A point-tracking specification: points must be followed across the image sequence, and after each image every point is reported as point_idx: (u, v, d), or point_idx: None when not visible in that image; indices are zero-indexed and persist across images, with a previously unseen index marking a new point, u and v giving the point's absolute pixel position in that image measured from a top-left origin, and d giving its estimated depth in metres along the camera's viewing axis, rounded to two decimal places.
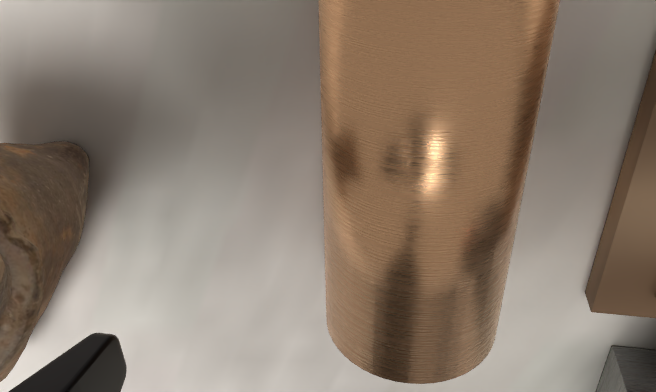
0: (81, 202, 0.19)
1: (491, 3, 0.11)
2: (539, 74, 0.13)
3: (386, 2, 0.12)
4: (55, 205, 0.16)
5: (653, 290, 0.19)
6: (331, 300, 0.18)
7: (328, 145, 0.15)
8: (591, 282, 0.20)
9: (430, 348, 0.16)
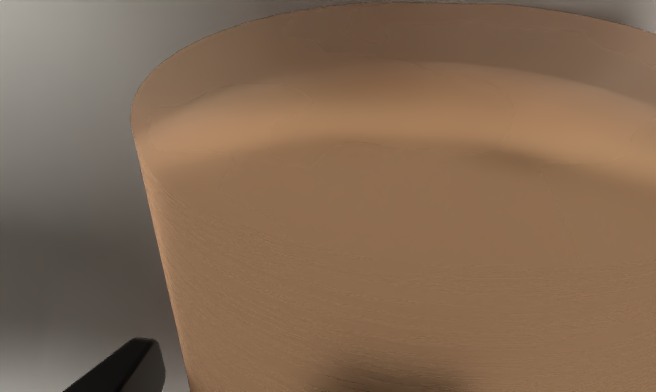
0: None
1: (612, 381, 0.04)
2: None
3: (295, 365, 0.04)
4: None
5: None
6: None
7: None
8: None
9: None
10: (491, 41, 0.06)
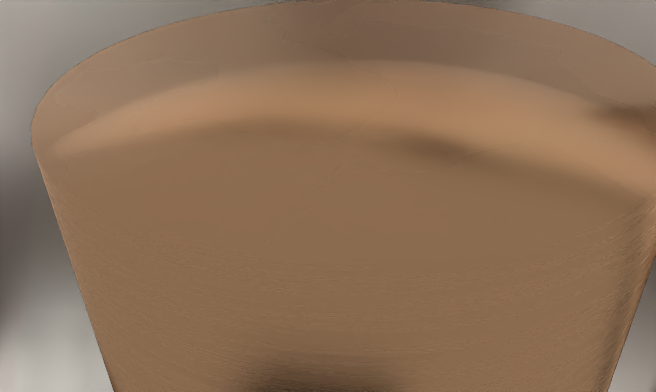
0: None
1: None
2: None
3: (94, 304, 0.04)
4: None
5: None
6: None
7: None
8: None
9: None
10: (450, 47, 0.06)
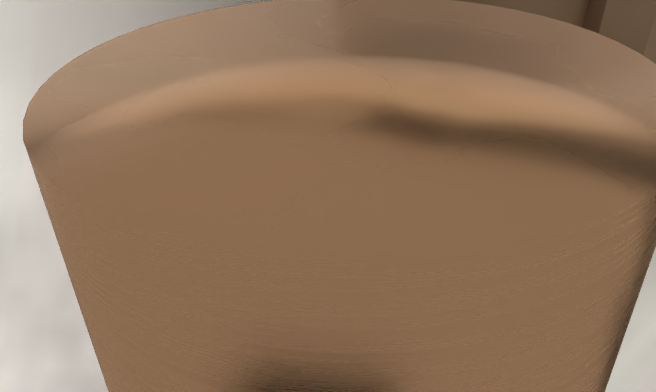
0: None
1: (337, 390, 0.04)
2: None
3: (87, 302, 0.04)
4: None
5: None
6: None
7: None
8: None
9: None
10: (447, 43, 0.06)
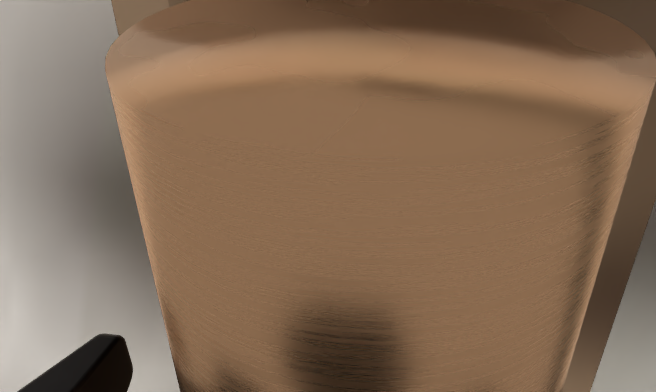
0: None
1: (376, 271, 0.05)
2: (539, 375, 0.06)
3: (164, 217, 0.05)
4: None
5: None
6: None
7: None
8: None
9: None
10: (453, 13, 0.07)
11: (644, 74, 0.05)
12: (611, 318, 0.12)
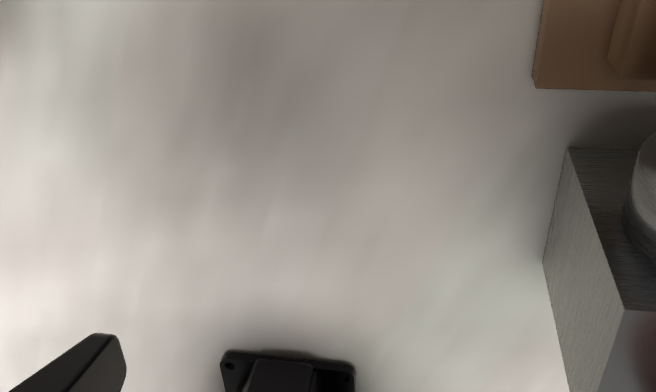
0: None
1: None
2: None
3: None
4: None
5: (605, 50, 0.17)
6: None
7: None
8: (536, 56, 0.18)
9: None
10: None
11: None
12: None
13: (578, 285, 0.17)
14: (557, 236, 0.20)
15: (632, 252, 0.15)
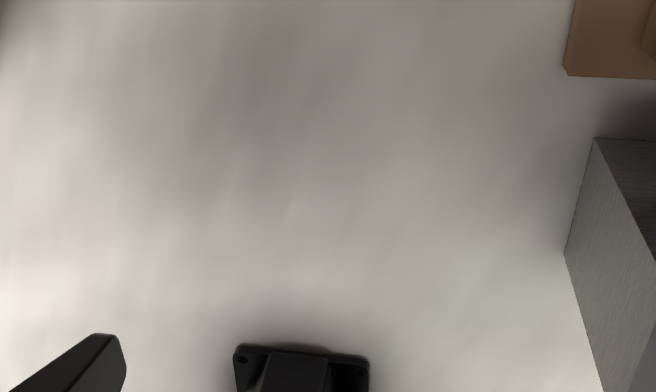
0: None
1: None
2: None
3: None
4: None
5: (639, 38, 0.17)
6: None
7: None
8: (569, 44, 0.18)
9: None
10: None
11: None
12: None
13: (609, 272, 0.17)
14: (582, 227, 0.20)
15: None
